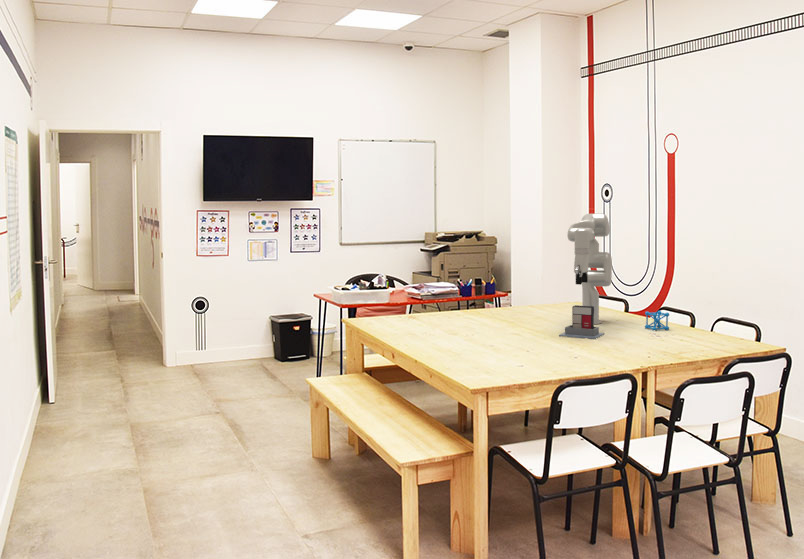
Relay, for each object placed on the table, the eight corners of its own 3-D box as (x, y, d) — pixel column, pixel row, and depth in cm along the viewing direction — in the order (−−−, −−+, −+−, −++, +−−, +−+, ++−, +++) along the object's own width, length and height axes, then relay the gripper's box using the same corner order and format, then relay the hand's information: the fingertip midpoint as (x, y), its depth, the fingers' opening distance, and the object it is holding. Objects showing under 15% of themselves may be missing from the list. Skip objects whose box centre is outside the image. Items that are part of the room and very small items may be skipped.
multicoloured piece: (571, 333, 400) (571, 306, 398) (574, 332, 404) (574, 305, 402) (591, 334, 394) (591, 307, 393) (593, 333, 398) (594, 306, 396)
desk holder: (569, 331, 410) (569, 323, 409) (604, 334, 399) (604, 326, 399) (559, 336, 396) (559, 328, 396) (595, 339, 386) (595, 330, 385)
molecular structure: (669, 330, 407) (670, 312, 406) (653, 331, 405) (654, 313, 404) (659, 327, 417) (660, 310, 416) (643, 328, 415) (644, 311, 414)
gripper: (580, 250, 403) (580, 281, 405) (569, 252, 388) (569, 284, 390) (593, 250, 399) (593, 281, 401) (583, 253, 384) (583, 285, 386)
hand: (581, 283), depth 396 cm, fingers open, 9 cm apart
